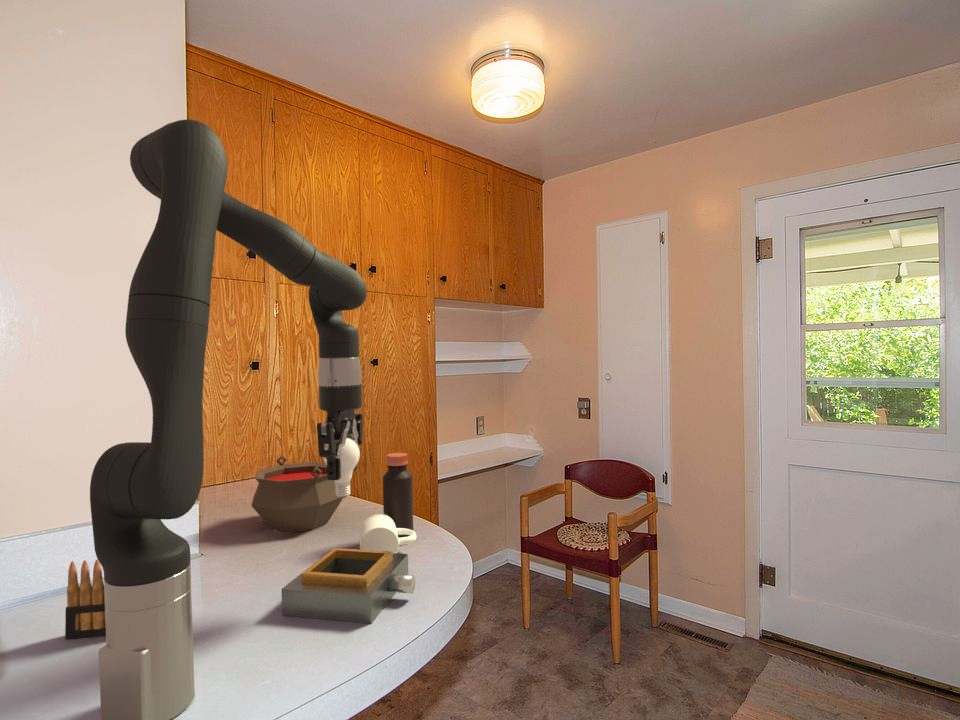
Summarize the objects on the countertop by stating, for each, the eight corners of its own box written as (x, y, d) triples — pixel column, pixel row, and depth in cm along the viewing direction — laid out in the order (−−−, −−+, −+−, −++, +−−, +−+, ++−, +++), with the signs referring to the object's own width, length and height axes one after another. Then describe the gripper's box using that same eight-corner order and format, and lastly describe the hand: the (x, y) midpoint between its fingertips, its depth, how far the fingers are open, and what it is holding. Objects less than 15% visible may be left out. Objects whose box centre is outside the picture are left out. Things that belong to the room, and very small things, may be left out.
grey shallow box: (394, 625, 87) (393, 588, 87) (282, 615, 91) (281, 580, 91) (428, 578, 104) (427, 547, 104) (332, 571, 108) (331, 542, 108)
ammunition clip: (144, 627, 88) (141, 554, 88) (138, 633, 86) (136, 558, 86) (71, 633, 86) (69, 559, 86) (64, 640, 84) (61, 563, 84)
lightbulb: (352, 503, 94) (350, 440, 94) (318, 502, 95) (316, 440, 95) (366, 493, 100) (364, 434, 100) (334, 492, 101) (332, 434, 101)
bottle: (416, 542, 124) (415, 455, 123) (387, 547, 121) (385, 458, 121) (409, 533, 130) (407, 450, 129) (381, 537, 127) (379, 453, 127)
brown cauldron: (364, 523, 139) (363, 459, 138) (271, 547, 123) (269, 476, 122) (322, 504, 156) (320, 448, 156) (235, 523, 140) (233, 460, 140)
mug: (360, 567, 110) (359, 529, 110) (360, 550, 120) (359, 514, 120) (419, 561, 113) (418, 523, 113) (414, 544, 123) (413, 509, 123)
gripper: (342, 385, 89) (345, 486, 90) (375, 379, 104) (377, 466, 104) (300, 386, 91) (303, 484, 91) (338, 380, 105) (341, 465, 105)
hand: (342, 474), depth 98 cm, fingers closed on lightbulb, 6 cm apart
